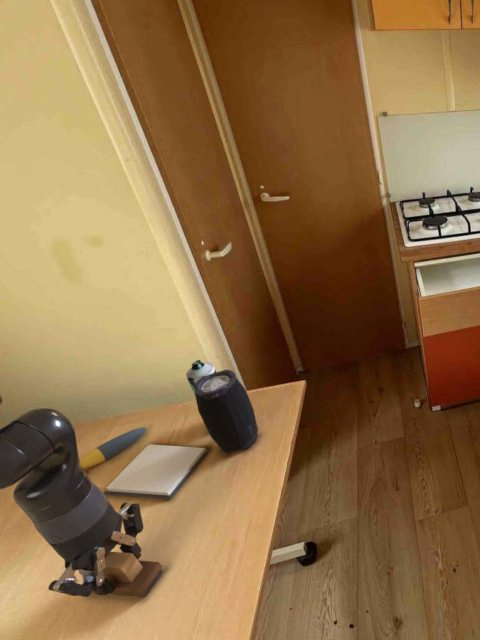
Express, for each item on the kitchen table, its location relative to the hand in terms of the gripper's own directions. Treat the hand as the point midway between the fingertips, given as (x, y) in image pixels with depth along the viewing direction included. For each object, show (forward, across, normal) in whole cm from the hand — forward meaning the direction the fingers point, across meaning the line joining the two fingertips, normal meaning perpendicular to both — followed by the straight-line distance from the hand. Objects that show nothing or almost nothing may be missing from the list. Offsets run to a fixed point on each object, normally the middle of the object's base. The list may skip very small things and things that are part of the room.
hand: (121, 573), depth 74 cm
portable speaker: (+3, -30, +1) cm, 30 cm away
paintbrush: (+3, -22, -28) cm, 36 cm away
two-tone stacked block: (+3, 0, 0) cm, 3 cm away
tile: (+3, -21, -12) cm, 24 cm away
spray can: (+3, -35, -7) cm, 36 cm away
